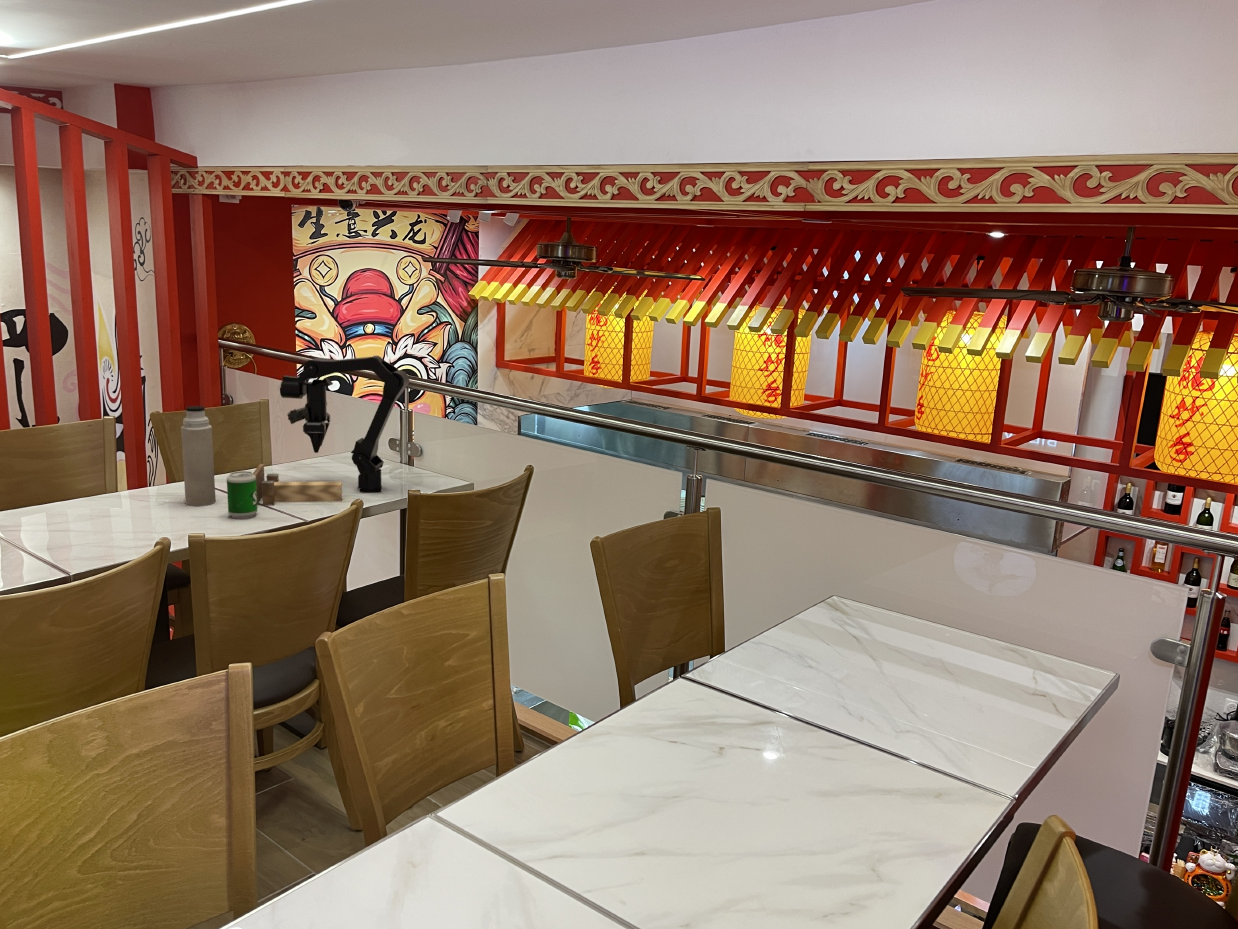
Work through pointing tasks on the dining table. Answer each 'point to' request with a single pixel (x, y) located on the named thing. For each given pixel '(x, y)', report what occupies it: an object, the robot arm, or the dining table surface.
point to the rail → (307, 491)
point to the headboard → (265, 486)
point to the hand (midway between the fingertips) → (317, 449)
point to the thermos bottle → (198, 458)
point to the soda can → (242, 494)
